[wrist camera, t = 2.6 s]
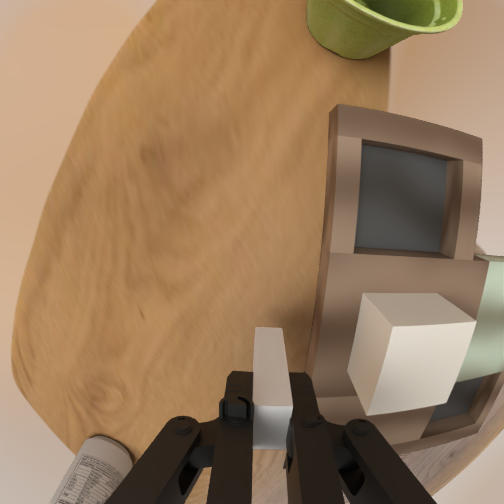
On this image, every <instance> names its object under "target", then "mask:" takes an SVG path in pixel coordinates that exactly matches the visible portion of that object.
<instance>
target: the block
mask: <svg viewBox="0 0 504 504" xmlns="http://www.w3.org/2000/svg"><path fill="white" fill-rule="evenodd" d="M476 322H477V321H476V320H474V319H473V318H472V317H470V316H469V315H467V314H466V313H465V312H463V311H462V310H461V309H459V308H458V307H456V306H455V305H453V304H452V303H451V302H449V301H448V300H446V299H445V298H443V297H442V296H441V295H439V294H438V293H363V294H362V300H361V305H360V311H359V316H358V322H357V327H356V332H355V337H354V342H353V346H352V351H351V356H350V360H349V364H348V369H347V372H348V374H349V376H350V379H351V381H352V383H353V385H354V388H355V390H356V392H357V395H358V397H359V399H360V402H361V404H362V406H363V409H364V411H365V413H366V416H370V415H378V414H386V413H393V412H400V411H407V410H413V409H418V408H424V407H429V406H434V405H439V404H443V403H446V402H447V400H448V398H449V395H450V393H451V391H452V389H453V386H454V384H455V382H456V379H457V377H458V374H459V372H460V369H461V367H462V364H463V361H464V359H465V356H466V353H467V350H468V347H469V344H470V341H471V338H472V335H473V332H474V329H475V326H476Z"/></svg>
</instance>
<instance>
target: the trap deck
mask: <svg viewBox="0 0 504 504" xmlns="http://www.w3.org/2000/svg"><path fill="white" fill-rule="evenodd" d="M481 186H482V139H481V138H479V137H476V136H473V135H470V134H467V133H464V132H461V131H458V130H454V129H451V128H448V127H444V126H440V125H437V124H433V123H430V122H426V121H422V120H418V119H414V118H410V117H405V116H402V115H397V114H392V113H388V112H383V111H378V110H373V109H367V108H362V107H356V106H349V105H343V104H338V105H337V106H336V107H335V108H334V109H332V110H331V111H330V112H329V137H328V162H327V181H326V197H325V211H324V224H323V235H322V246H321V257H320V266H319V276H318V284H317V293H316V301H315V309H314V317H313V324H312V331H311V338H310V345H309V351H308V358H307V364H306V370H305V373H307V374H308V376H309V377H310V378H311V379H312V383H313V387H314V393H315V395H316V400H317V404H318V408H319V412H320V414H321V415H323V416H324V418H325V420H326V421H328V422H330V423H334V424H339V425H346V424H347V423H348V421H351V420H353V419H365V420H368V421H370V422H371V423H373V424H374V425H375V426H376V428H377V429H378V430H379V432H380V433H381V434H382V435H383V437H384V438H385V439H386V440H387V442H388V443H389V444H390V445H391V447H392V448H393V449H394V451H395V452H396V453H397V454H398V455H400V454H405V453H409V452H414V451H418V450H422V449H426V448H430V447H434V446H437V445H441V444H444V443H448V442H451V441H454V440H458V439H461V438H464V437H467V436H470V435H473V434H475V433H477V432H478V431H479V429H480V427H481V425H482V424H483V422H484V420H485V418H486V417H487V415H488V413H489V411H490V409H491V407H492V405H493V404H494V402H495V400H496V398H497V396H498V394H499V392H500V389H501V387H502V385H503V383H504V256H492V255H479V254H474V251H475V245H476V238H477V230H478V222H479V213H480V201H481ZM363 293H438V294H439V295H441V296H442V297H443V298H445V299H446V300H448V301H449V302H451V303H452V304H453V305H455V306H456V307H458V308H459V309H461V310H462V311H463V312H465V313H466V314H467V315H469V316H470V317H472V318H473V319H474V320H476V321H477V322H476V326H475V329H474V332H473V335H472V338H471V341H470V344H469V347H468V350H467V353H466V356H465V359H464V361H463V364H462V367H461V369H460V372H459V374H458V377H457V379H456V382H455V384H454V386H453V389H452V391H451V393H450V395H449V398H448V400H447V402H446V403H443V404H439V405H434V406H429V407H424V408H418V409H413V410H407V411H400V412H393V413H386V414H378V415H370V416H366V413H365V411H364V409H363V406H362V404H361V402H360V399H359V397H358V395H357V392H356V390H355V388H354V385H353V383H352V381H351V379H350V376H349V374H348V372H347V369H348V364H349V360H350V356H351V351H352V346H353V342H354V337H355V332H356V327H357V322H358V316H359V311H360V305H361V300H362V294H363Z"/></svg>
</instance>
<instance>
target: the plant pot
mask: <svg viewBox="0 0 504 504" xmlns="http://www.w3.org/2000/svg"><path fill="white" fill-rule="evenodd" d="M462 10H463V3H462V0H307V24H308V28H309V30H310V32H311V34H312V35H313V37H314V38H315V39H316V40H317V42H319V43H320V44H321V45H322V46H323V47H325V48H327V49H329V50H331V51H333V52H335V53H337V54H339V55H340V56H342V57H345V58H350V59H366V58H370V57H372V56H374V55H376V54H378V53H380V52H382V51H383V50H385V49H387V48H389V47H391V46H393V45H394V44H396V43H398V42H400V41H402V40H404V39H406V38H408V37H410V36H412V35H417V34H433V33H440V32H444V31H446V30H448V29H450V28H452V27H454V26H455V25H456V24H457V23H458V21H459V20H460V18H461V15H462Z"/></svg>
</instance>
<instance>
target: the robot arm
mask: <svg viewBox="0 0 504 504" xmlns="http://www.w3.org/2000/svg"><path fill="white" fill-rule="evenodd" d="M285 447H286V448H287V453H286V458H285V462H284V467H283V469H286V476H287V491H288V504H345V502H344V497H343V492H344V493H345V495H346V497H347V499H348V500H349V502H350V504H437V503H436V502H435V501H434V500H433V498H432V497H431V496H430V495H429V493H428V492H427V491H426V490H425V488H424V487H423V486H422V485H421V483H420V482H419V481H418V480H417V478H416V477H415V476H414V474H413V473H412V472H411V471H410V469H409V468H408V467H407V466H406V464H405V463H404V462H403V461H402V459H401V458H400V457H399V456H398V454H397V453H396V452H395V451H394V449H393V448H392V447H391V445H390V444H389V443H388V442H387V440H386V439H385V438H384V437H383V435H382V434H381V433H380V432H379V430H378V429H377V428H376V426H375V425H374V424H373V423H371V422H370V421H368V420H365V419H353V420H351V421H348V423H347V424H346V425H339V424H334V423H330V422H328V421H326V420H325V418H324V416H323V415H321V414H320V412H319V408H318V404H317V400H316V395H315V393H314V387H313V383H312V379H311V378H310V377H309V376H308V374H307V373H291V372H288V366H287V359H286V352H285V345H284V338H283V331H282V328H270V327H255V338H254V355H253V372H243V371H232V372H231V373H230V375H229V376H228V377H227V383H226V390H225V396H224V398H223V399H221V401H220V403H219V417H218V418H216V419H215V420H212V421H209V422H203V423H198V422H197V420H196V419H194V418H191V417H188V416H177V417H174V418H172V419H171V420H169V421H168V422H167V423H166V425H165V426H164V427H163V429H162V430H161V431H160V433H159V434H158V435H157V437H156V438H155V439H154V441H153V442H152V443H151V445H150V446H149V447H148V448H147V450H146V451H145V452H144V454H143V455H142V456H141V458H140V459H139V460H138V461H137V463H136V464H135V465H134V467H133V468H132V469H131V470H130V472H129V473H128V474H127V475H126V477H125V478H124V479H123V481H122V482H121V483H120V484H119V486H118V487H117V488H116V489H115V491H114V492H113V493H112V494H111V496H110V497H109V498H108V499H107V501H106V502H105V503H104V504H184V503H185V501H186V499H187V498H188V496H189V494H190V492H191V490H192V489H193V487H194V485H195V483H196V481H197V480H198V478H199V476H200V474H201V472H202V470H203V468H206V467H212V470H211V477H210V483H209V490H208V496H207V503H206V504H251V500H252V462H253V449H267V450H285ZM342 490H343V492H342Z"/></svg>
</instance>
